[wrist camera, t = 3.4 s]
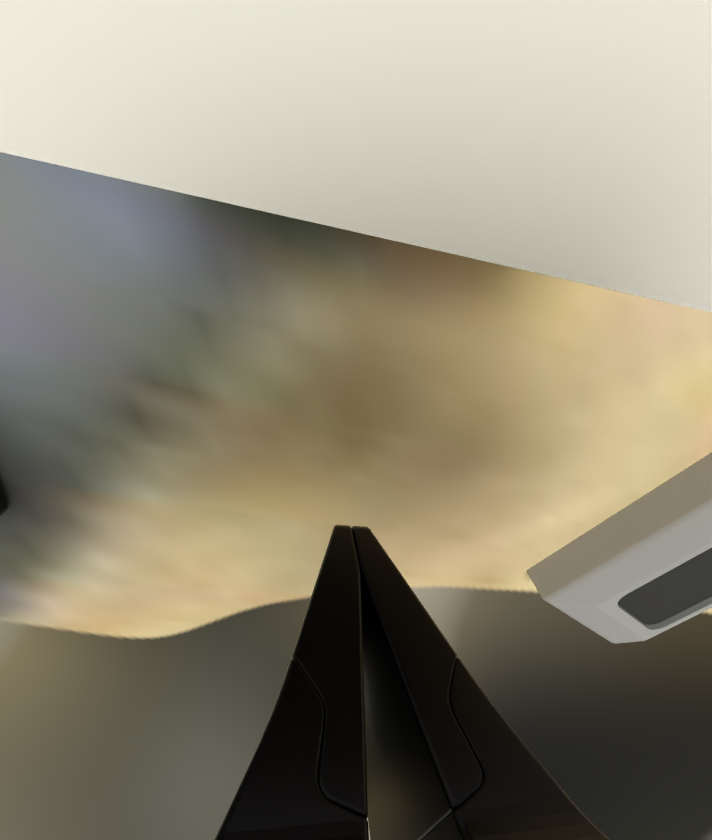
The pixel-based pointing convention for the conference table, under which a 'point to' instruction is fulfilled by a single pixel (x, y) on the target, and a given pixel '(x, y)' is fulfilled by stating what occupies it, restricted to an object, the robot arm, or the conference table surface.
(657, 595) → the grey flat block
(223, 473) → the conference table surface
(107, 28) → the walnut block
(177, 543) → the conference table surface
